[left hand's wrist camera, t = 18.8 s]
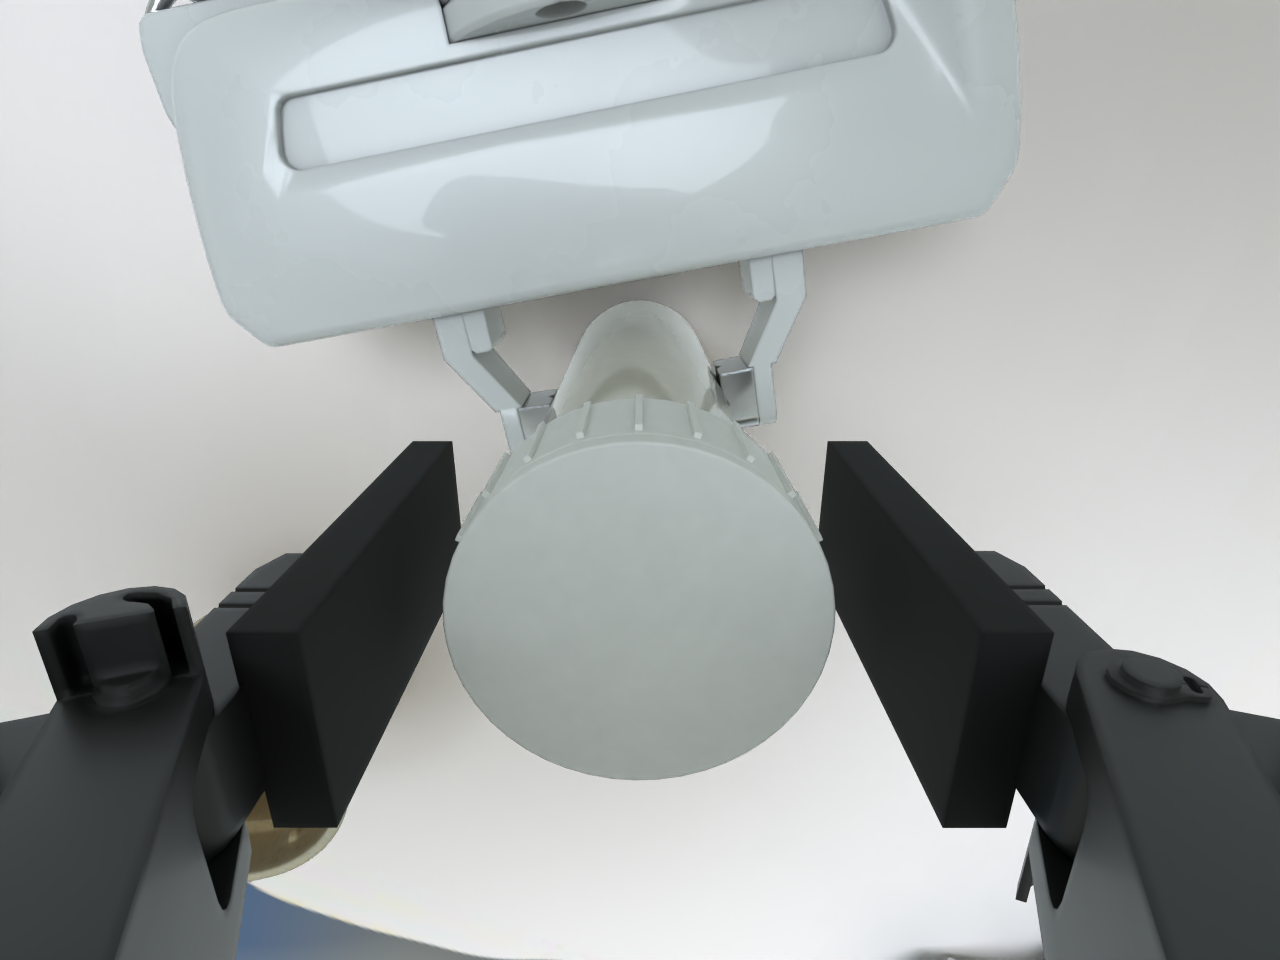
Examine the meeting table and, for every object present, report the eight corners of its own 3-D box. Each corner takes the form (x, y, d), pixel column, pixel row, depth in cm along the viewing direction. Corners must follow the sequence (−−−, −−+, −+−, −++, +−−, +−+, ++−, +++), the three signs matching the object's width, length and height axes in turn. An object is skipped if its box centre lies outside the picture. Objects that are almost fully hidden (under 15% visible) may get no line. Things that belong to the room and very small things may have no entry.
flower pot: (317, 487, 28) (189, 599, 20) (467, 651, 31) (406, 806, 23) (157, 602, 30) (-20, 746, 22) (311, 747, 33) (205, 921, 25)
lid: (445, 650, 13) (406, 738, 11) (514, 347, 11) (483, 382, 9) (740, 721, 13) (758, 818, 11) (857, 447, 11) (907, 501, 9)
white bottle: (694, 290, 26) (786, 426, 10) (710, 416, 27) (811, 713, 11) (565, 311, 26) (441, 479, 10) (588, 434, 28) (516, 750, 12)
